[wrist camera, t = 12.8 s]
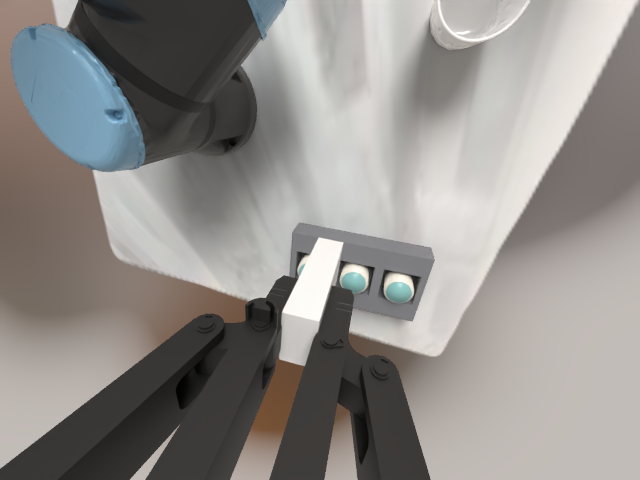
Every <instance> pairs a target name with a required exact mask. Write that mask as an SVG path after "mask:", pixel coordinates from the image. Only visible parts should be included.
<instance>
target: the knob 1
mask: <svg viewBox="0 0 640 480" xmlns="http://www.w3.org/2000/svg"><path fill="white" fill-rule="evenodd" d="M309 256H310V254H308V253H305V255H304V257H303V258H302V260H301V262H300V264H299V266H298V269H297V273H298V276H299V277H300V275H301V272H302V270H303V268H304V266H305V264H306V262H307V260H308V258H309Z"/></svg>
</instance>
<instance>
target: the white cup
mask: <svg viewBox="0 0 640 480" xmlns="http://www.w3.org/2000/svg"><path fill="white" fill-rule="evenodd" d="M530 1H531V0H434V1H433V5H432V11H431V16H430V27H431V34H432V36H433V38H434V39H435V41H436V42H437V44H438V45H440V46H442V47H444V48H446V49H448V50H456V49H463V48H468V47H471V46H474V45H477V44H479V43H482V42H484V41H486V40H489V39H492V38H494V37H496V36H498V35H499V34H501V33H503V32H504V31H505V30H507V29H508V28H509V27H510V26H511V25H513V24H514V23H515V22H516V21H517V19H518V18H519V17H520V16H521V15H522V13H523V12H524V11H525V9H526V8H527V6H528V4H529V3H530Z"/></svg>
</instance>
